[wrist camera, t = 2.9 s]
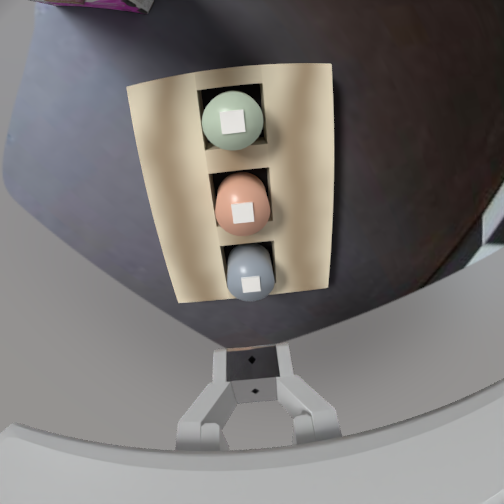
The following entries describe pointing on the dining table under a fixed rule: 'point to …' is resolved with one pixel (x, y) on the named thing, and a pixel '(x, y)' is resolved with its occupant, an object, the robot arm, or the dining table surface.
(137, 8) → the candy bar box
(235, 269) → the slate button
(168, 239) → the button board
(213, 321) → the dining table surface
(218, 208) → the pink rounded knob
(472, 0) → the dining table surface
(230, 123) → the sage button
